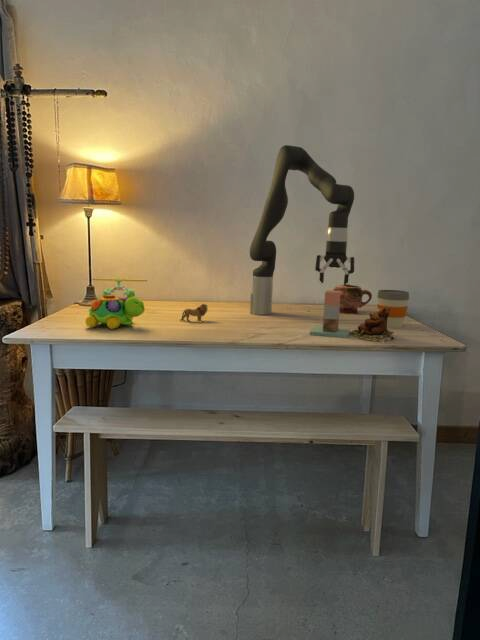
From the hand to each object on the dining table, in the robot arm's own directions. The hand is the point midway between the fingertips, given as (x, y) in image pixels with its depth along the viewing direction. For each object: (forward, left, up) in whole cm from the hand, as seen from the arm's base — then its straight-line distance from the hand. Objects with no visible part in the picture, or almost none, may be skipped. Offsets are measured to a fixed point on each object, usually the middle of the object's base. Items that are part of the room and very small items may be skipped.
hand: (333, 283), depth 183 cm
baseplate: (0, 0, -19) cm, 19 cm away
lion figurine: (-57, 0, -20) cm, 60 cm away
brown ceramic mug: (+3, +49, -20) cm, 53 cm away
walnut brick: (0, 0, -18) cm, 18 cm away
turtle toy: (-81, -21, -20) cm, 86 cm away
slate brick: (0, 0, -13) cm, 13 cm away
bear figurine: (+16, 0, -20) cm, 25 cm away
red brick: (0, 0, -8) cm, 8 cm away
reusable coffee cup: (+22, +24, -19) cm, 38 cm away
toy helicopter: (-99, +11, -19) cm, 101 cm away
